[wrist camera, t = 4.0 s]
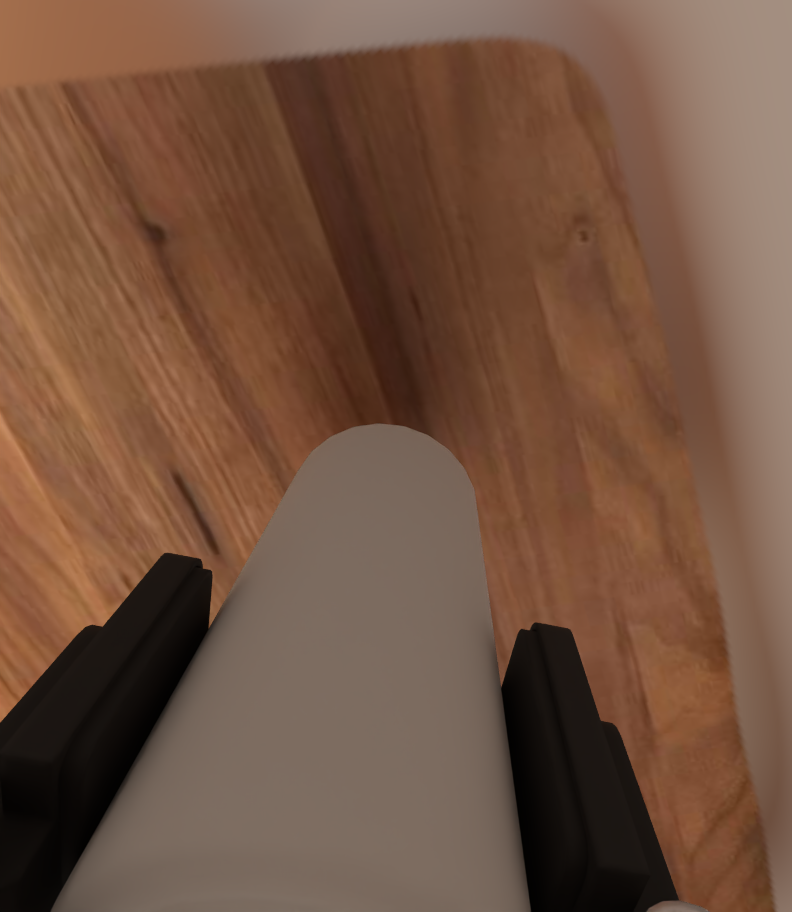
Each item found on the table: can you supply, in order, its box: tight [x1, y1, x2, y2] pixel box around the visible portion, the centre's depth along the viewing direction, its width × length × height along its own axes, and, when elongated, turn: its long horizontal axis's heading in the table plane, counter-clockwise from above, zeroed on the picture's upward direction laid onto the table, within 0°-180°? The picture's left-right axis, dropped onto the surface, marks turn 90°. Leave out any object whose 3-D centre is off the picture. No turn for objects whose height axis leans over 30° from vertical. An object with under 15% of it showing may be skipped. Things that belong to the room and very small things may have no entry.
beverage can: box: [51, 423, 531, 912], centre depth 11 cm, size 5×5×12 cm
